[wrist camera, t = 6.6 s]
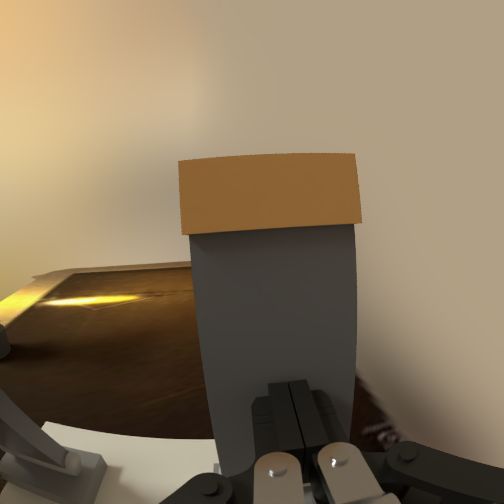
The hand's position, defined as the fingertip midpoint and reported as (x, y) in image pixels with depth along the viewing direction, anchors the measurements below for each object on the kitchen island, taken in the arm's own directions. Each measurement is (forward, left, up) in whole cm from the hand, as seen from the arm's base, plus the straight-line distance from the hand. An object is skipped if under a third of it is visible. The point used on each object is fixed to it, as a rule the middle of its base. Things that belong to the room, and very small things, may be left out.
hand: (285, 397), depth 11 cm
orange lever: (0, 0, -6) cm, 6 cm away
